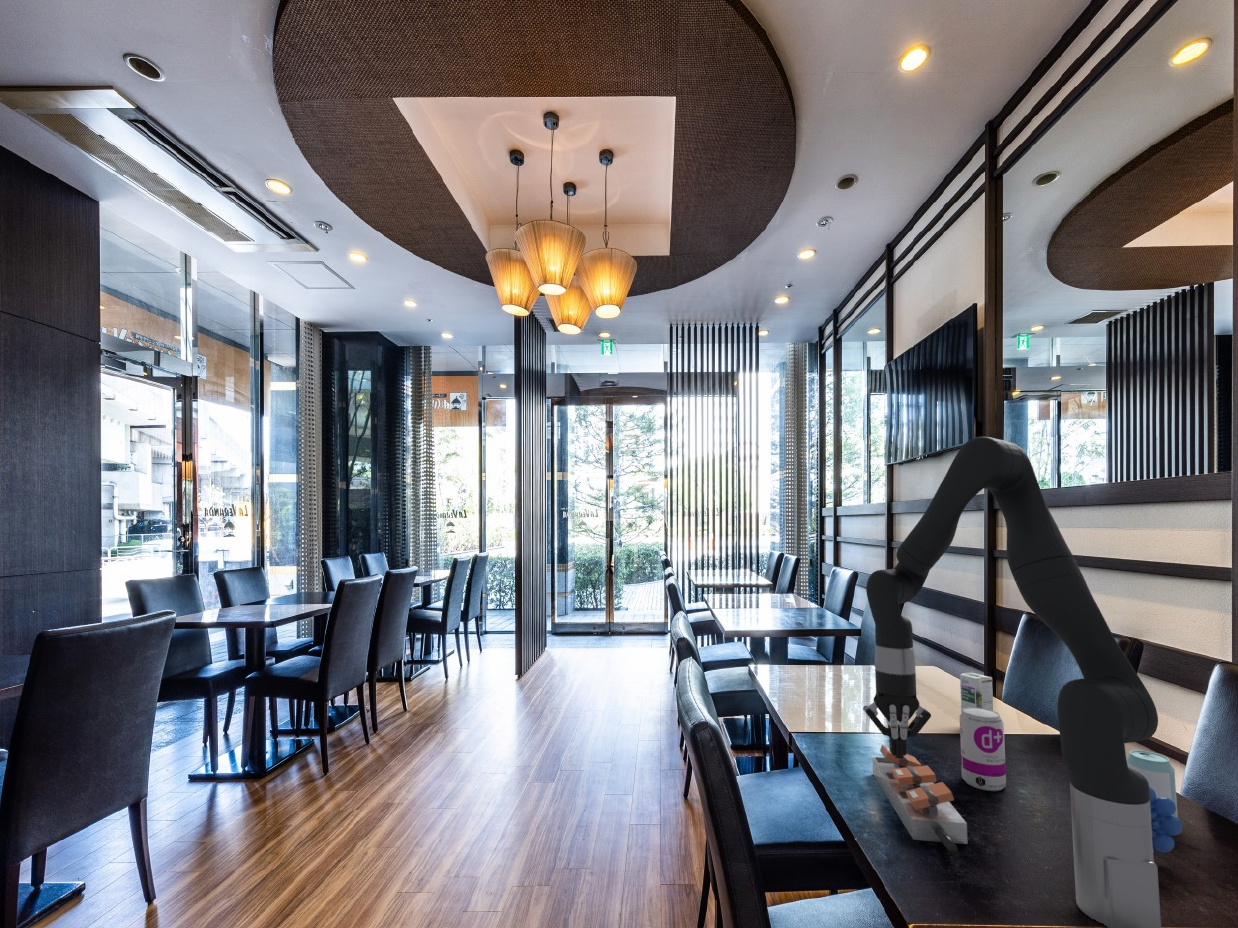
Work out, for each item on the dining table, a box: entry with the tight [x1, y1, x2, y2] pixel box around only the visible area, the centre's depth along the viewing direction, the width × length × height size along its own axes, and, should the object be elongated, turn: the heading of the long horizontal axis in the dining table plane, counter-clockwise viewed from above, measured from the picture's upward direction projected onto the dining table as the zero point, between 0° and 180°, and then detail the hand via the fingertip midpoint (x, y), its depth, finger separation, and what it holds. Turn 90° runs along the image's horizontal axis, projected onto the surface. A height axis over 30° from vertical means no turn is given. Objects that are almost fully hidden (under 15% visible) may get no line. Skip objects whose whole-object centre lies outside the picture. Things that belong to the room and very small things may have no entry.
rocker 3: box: [906, 781, 955, 809], centre depth 113 cm, size 4×7×2 cm, turn 81°
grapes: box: [1149, 787, 1184, 854], centre depth 105 cm, size 12×7×12 cm, turn 62°
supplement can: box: [959, 707, 1007, 792], centre depth 132 cm, size 8×8×15 cm
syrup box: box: [959, 672, 994, 714], centre depth 166 cm, size 6×6×14 cm
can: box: [1126, 749, 1179, 819], centre depth 117 cm, size 7×7×12 cm
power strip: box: [872, 756, 968, 856], centre depth 119 cm, size 34×9×4 cm, turn 171°
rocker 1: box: [879, 744, 922, 767], centre depth 131 cm, size 4×7×2 cm, turn 81°
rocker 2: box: [892, 765, 938, 785], centre depth 122 cm, size 4×7×2 cm, turn 81°
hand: (898, 756), depth 123 cm, fingers closed
